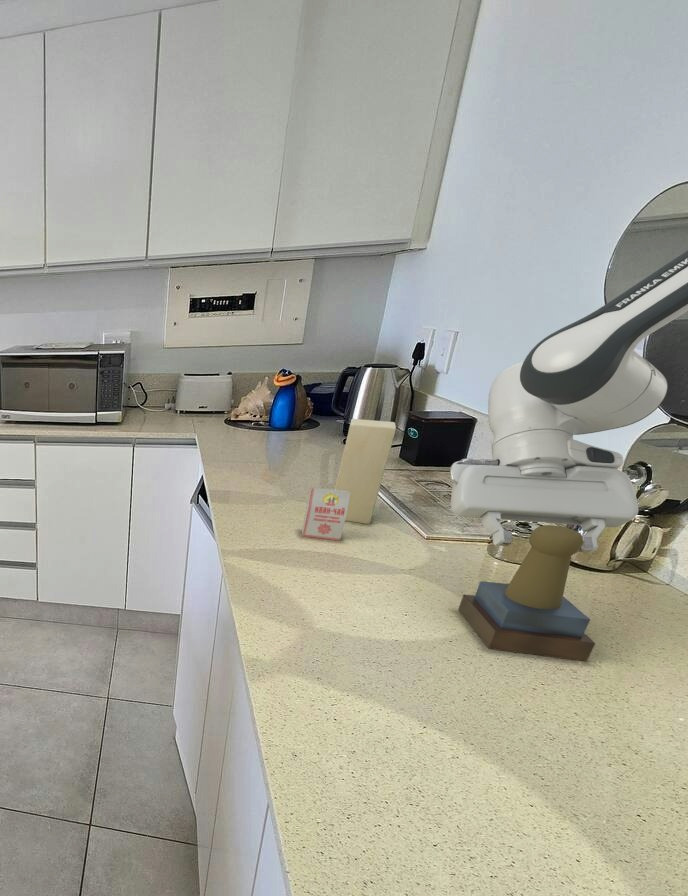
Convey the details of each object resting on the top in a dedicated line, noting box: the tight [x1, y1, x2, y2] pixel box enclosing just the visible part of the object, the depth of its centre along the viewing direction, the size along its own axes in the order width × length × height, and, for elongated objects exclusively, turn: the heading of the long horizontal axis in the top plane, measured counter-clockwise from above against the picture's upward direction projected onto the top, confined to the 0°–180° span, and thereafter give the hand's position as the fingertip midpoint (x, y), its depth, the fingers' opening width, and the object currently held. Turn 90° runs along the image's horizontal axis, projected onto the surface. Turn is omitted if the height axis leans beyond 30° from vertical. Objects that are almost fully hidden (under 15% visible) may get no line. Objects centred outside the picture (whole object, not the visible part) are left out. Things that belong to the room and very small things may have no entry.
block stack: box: [457, 580, 596, 662], centre depth 84 cm, size 11×11×6 cm
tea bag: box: [301, 487, 351, 542], centre depth 118 cm, size 4×7×10 cm, turn 64°
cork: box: [504, 524, 583, 610], centre depth 81 cm, size 6×6×11 cm
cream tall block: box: [333, 418, 397, 525], centre depth 124 cm, size 8×7×21 cm
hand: (544, 547), depth 81 cm, fingers open, 8 cm apart
